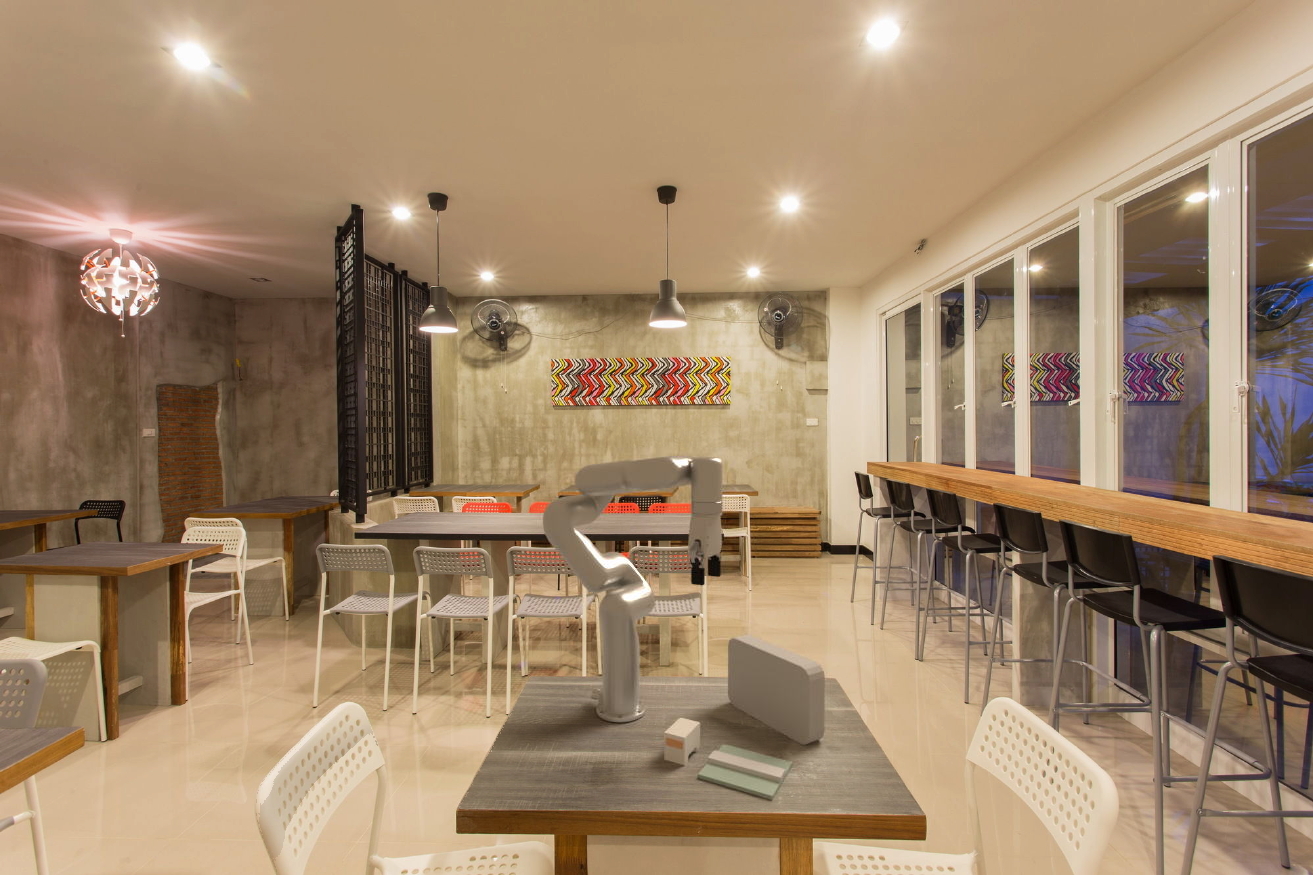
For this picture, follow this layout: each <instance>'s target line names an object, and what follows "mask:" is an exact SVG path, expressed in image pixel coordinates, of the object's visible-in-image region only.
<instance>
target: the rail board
mask: <svg viewBox="0 0 1313 875" xmlns="http://www.w3.org/2000/svg"><path fill="white" fill-rule="evenodd" d="M792 767H793V761H790V760H786V759H782V758H778V757H773V756H769V755H766V754H764V753H759V752H755V751H751V750H748V749H744V748H740V747H737V746H733V745H728V744H724V743H723V744H722V745H721V746H720V747H719V749H718V750H713V751H712V752H711V753H710V755H709V756H708V757H707V763H706V764H705V765H704V767H702V769H701V770H700V771H699V772H698V773H697V778H698V779H700V780H703V781H707V782H710V783H715V784H716V785H717V784H718V785H720V786H724V787H726V788H731V789H735V790H737V791H742V792H745V793H747V794H751V795H754V796H758V797H762V798H765V799H766V800H767V799H769V800H771V801H773V800H774V798H775V797H776V795H777V793H778V791H779V790H780V789H781V786H782V784H783V783H784V781H785V779H786V778H787V776H788V774H789V772H790V770H791V769H792Z"/></svg>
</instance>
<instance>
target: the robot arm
mask: <svg viewBox="0 0 1313 875" xmlns="http://www.w3.org/2000/svg"><path fill="white" fill-rule="evenodd" d="M574 486H575V488H576V489H577V492H578V493H580V494H575V495H568V496H562V497H558V498H556V499H553V501H550V502H549V503H548V505H547V506H546V507H545V509H544V511H543V516H542V526H543V530H544V531H543V532H544V534H545V536H546V538H547V540H548V542H549V543H550V544H551V546H552V547H553V548H554V549H555V550H556V552H557V553H558V554H559V555H560V556H561V558H563V560H564V561H565V562H566V564H567V565H568V567H569V568H570V570H571V571H572V572H573V574H574V575H575V576H576V578H577V579H578V580H579V582H580V583H581V584H582V586H583V587H584V588H585V589H586V590H587V591H588V592H589V593H592V594H599V593H602V592H607V591H608V590H611V589H612V590H611V591H610V592H608V593H606V594H605V596H604V597H603V598H602V599H601V601H600V604H599V609H598V615H599V621H600V627H601V635H602V636H601V637H602V641H601V642H602V645H601V646H602V648H601V649H602V651H601V652H602V689H601V688H598V687H593V688H592V690H591V695H590V698H591V700H597V702H598V704H597V706H596V708H595V710H596V711H595V712H596V715H597V716H598V717H599V718H601V719H602V720H603V721H607V722H611V723H612V722H613V723H628V722H633V721H636V720H638V719H640V718H641V717H643V716H644V715H645V713H646V705H645V703H644V702H643V701H641V699H640V637H639V634H638V630H637V628H636V627H637V626H636V622H638V621H639V620H642V619H643V618H644V617H646V616H648V615H649V614H650V613H651V612H652V611H653V610H654V608H655V603H656V597H655V593H654V591H653V590H652V588H651V586H650V585H649V583H648V582H647V581H646V580H645V578H644V577H643V575H642V574H641V573H640V572H639V571H638V569H637V568H636V567H635V566H634V564H633V563H632V562H631V561H630V560H629V558H628V557H626V556H625V555H624V554H622V553H620V552H617V551H608V552H603V553H601V551H599V550H598V548H597V547H596V546H595V545H594V544H593V542H592V541H591V540H590V538H588V537H587V536H586V535H585V534H584V533H582V532H581V531H579V530H578V529H577V528H576V527H581V526H586V525H589V524H592V523H594V522H595V521H596V520H598V518H599V517H600V516H601V515H602V514H603V512H604V511H605V509H606V508H607V507H608V506H609V505H610V503H611V501H612V500H613V499H614V497H615V496H616V495H625V494H634V493H635V492H640V491H651V490H652V491H653V490H662V489H664V490H665V489H672V488H677V487H684V486H690V515H691V516H690V521H689V528H688V529H689V530H688V544H687V545H688V547H687V548H688V549H687V551H688V552H687V554H688V557H689V563H690V564H689V566H690V570H691V571H690V583H691V584H692V585H694V586H704V585H706V584H705V583H706V582H705V579H706V578H705V575H706V574H705V573H706V572H705V567H704V565H705V563H706V562H705V561H706V559H707V575H708V576H710V577H716V578H717V577H718V578H720V577H721V573H722V571H721V570H722V569H721V568H722V552H723V548H722V546H723V539H722V535H723V534H722V520H721V519H722V518H721V516H723V461H722V460H721V458H719V457H715V456H712V457H711V456H710V457H708V456H697V457H694V456H689V455H669V456H668V455H667V456H660V457H651V458H644V459H637V460H631V459H626V460H625V459H624V460H619V461H611V462H609V461H608V462H601V463H595V464H594V463H593V464H588V465H585V466H583V467H581V468H580V469H578V471H577V472H576V474H575V477H574Z"/></svg>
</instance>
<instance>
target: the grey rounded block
mask: <svg viewBox="0 0 1313 875" xmlns="http://www.w3.org/2000/svg"><path fill="white" fill-rule="evenodd" d="M825 679H826V678H825V670H824V669H823V667H822V665H820V664H819V663H818V662H816V661H815V660H812V659H810V658H808V657H805V656H802V655H800V654H798V653H795V652H794V651H793V652H792V651H790V650H787V649H786V648H782V647H780V646H777V645H776V644H773V643H770V642H767V641H766V640H763V639H760V638H758V637H755V636H753V635H750V634H743V635H740V636H739V635H738V636H736V637H732V638H730V639H729V640H728V644H727V696H728V699H729V701H730V704H731V705H733V707H735V708H737V709H738V710H740V711H741V712H744V713H745V714H747V715H748V716H750V717H753V718H754V719H755V720H757V721H759V722H761V723H763V724H765V725H766V726H768V727H770V728H772V729H773V730H775V731H777V732H779V733H781V734H783V735H785V736H786V737H788V738H790V739H791V740H792V741H795V742H797V743H799V744H800V745H804V746H805V745H808V744H811V743H813V742H815V741H818V740H821V739H822V738H824V735H825V723H826V722H825V721H826V720H825V718H826V717H825V716H826V715H825V710H826V709H825V707H826V706H825V704H826V703H825V702H826V700H825V699H826V698H825V697H826V696H825V695H826V693H825V692H826V689H825V686H826V680H825Z"/></svg>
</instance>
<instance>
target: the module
mask: <svg viewBox="0 0 1313 875" xmlns="http://www.w3.org/2000/svg"><path fill="white" fill-rule="evenodd" d="M663 733H664V734H663V737H664V739H663V740H664V741H663V742H664V743H663V747H664V748H663V753H664V754H663V755H664V756H663V757H664V758H663V760H664V761H668V762H672V763H675V764H677V765H682V766H686V765H687V764H688V762H689V756H690V754H692V753H693V752H694V753H698V752H699V750H700V749H701V722H699V721H697V720H691V719H688V718H684V717H680V718H679V717H678V719H677V720H676V721H675V722H674V723H673V724H672V725H671V726H669V727H668V728H667V729H666V730H665V731H664V732H663Z"/></svg>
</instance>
